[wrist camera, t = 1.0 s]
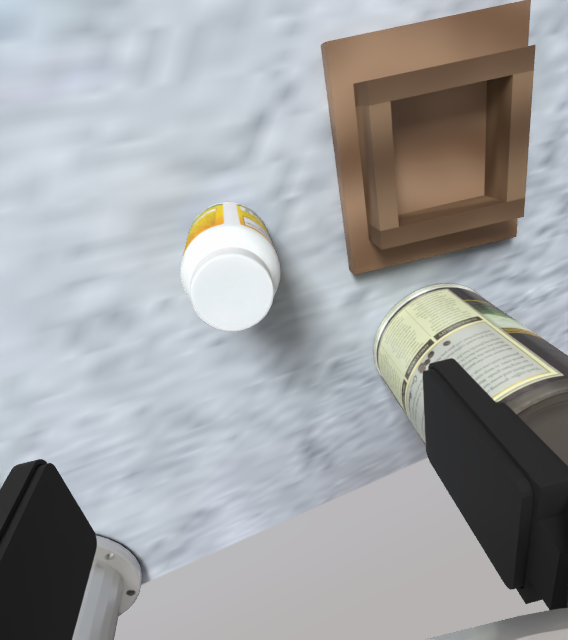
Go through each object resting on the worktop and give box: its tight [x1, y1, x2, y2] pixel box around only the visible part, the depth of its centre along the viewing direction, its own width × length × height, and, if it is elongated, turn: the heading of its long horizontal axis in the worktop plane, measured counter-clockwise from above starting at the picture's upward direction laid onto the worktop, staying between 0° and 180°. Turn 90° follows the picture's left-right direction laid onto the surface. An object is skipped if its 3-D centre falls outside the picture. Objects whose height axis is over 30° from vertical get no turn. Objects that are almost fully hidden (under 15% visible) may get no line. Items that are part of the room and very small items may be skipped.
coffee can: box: [373, 284, 568, 466], centre depth 29 cm, size 10×10×14 cm
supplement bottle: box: [180, 202, 280, 331], centre depth 25 cm, size 5×5×10 cm
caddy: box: [321, 0, 535, 275], centre depth 27 cm, size 14×12×4 cm
